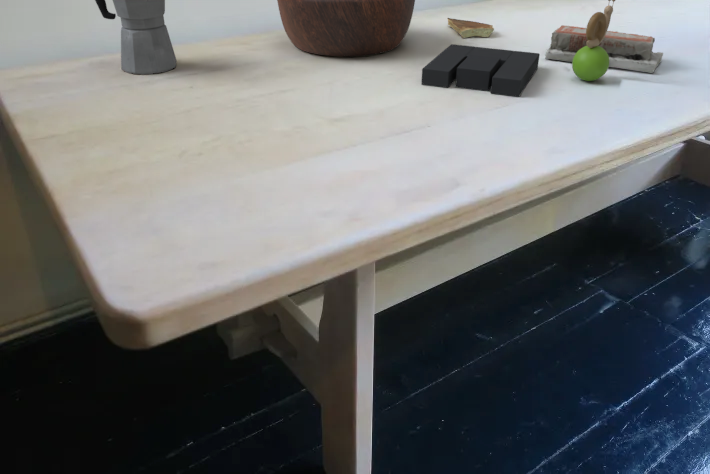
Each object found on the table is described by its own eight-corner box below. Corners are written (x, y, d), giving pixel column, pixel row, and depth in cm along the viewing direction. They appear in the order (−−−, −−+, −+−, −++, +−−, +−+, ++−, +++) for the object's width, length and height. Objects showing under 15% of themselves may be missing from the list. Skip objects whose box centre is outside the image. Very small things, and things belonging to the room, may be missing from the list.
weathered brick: (547, 31, 112) (562, 20, 119) (543, 60, 114) (557, 47, 122) (661, 44, 104) (669, 31, 112) (654, 74, 107) (662, 60, 114)
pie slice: (446, 25, 137) (447, 16, 136) (482, 24, 137) (483, 15, 136) (459, 38, 127) (460, 28, 126) (498, 37, 128) (499, 27, 127)
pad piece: (498, 76, 106) (500, 57, 104) (487, 91, 100) (489, 71, 98) (468, 73, 108) (469, 54, 106) (455, 87, 101) (456, 67, 100)
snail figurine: (614, 78, 105) (630, -1, 99) (595, 87, 101) (611, 6, 95) (582, 71, 108) (596, -6, 102) (563, 80, 104) (576, 0, 98)
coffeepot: (198, 61, 113) (185, -53, 104) (173, 77, 105) (156, -45, 96) (117, 55, 116) (97, -56, 107) (86, 71, 108) (61, -49, 99)
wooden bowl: (441, 48, 121) (445, -11, 115) (325, 70, 108) (323, 5, 103) (363, 22, 138) (363, -30, 133) (255, 39, 126) (251, -18, 121)
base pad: (537, 68, 110) (539, 53, 109) (518, 97, 97) (521, 80, 96) (450, 58, 115) (451, 44, 114) (421, 84, 102) (422, 68, 101)
